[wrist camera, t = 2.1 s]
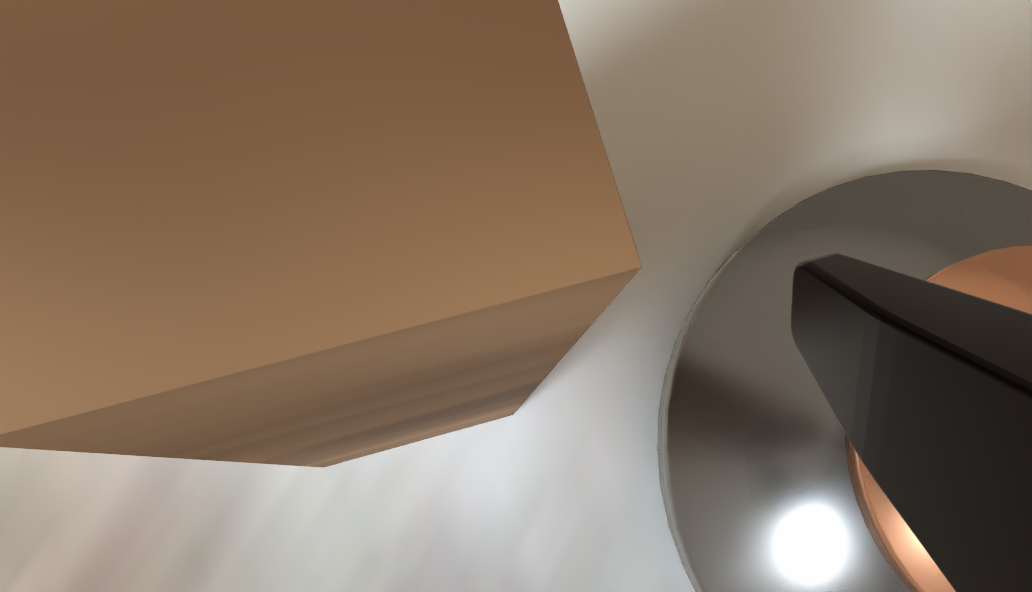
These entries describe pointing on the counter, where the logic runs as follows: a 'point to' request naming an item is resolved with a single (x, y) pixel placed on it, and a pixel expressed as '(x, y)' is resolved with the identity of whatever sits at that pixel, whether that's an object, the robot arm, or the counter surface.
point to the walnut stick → (291, 222)
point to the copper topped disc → (814, 389)
